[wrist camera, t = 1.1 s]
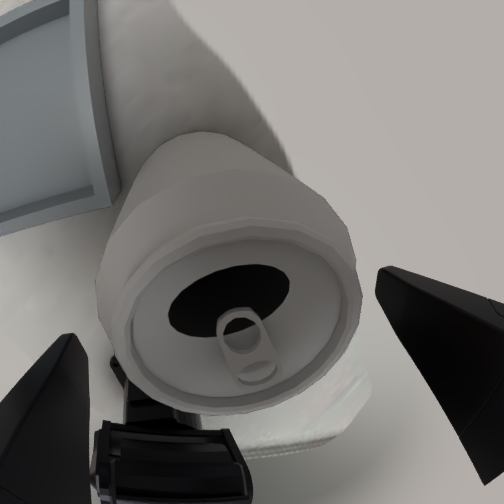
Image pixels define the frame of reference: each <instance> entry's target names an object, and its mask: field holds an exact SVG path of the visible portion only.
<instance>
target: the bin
mask: <svg viewBox="0 0 504 504" xmlns="http://www.w3.org/2000/svg"><path fill="white" fill-rule="evenodd" d="M121 189H122V188H121V184H120V179H119V174H118V170H117V165H116V160H115V155H114V149H113V144H112V138H111V132H110V126H109V120H108V114H107V107H106V100H105V92H104V84H103V76H102V66H101V56H100V44H99V29H98V4H97V0H32V1H30V2H28V3H26V4H24V5H22V6H20V7H18V8H16V9H14V10H12V11H10V12H8V13H6V14H4V15H2V16H0V237H1V236H4V235H7V234H10V233H13V232H17V231H20V230H23V229H27V228H30V227H34V226H37V225H41V224H44V223H48V222H51V221H55V220H59V219H62V218H66V217H70V216H74V215H78V214H82V213H86V212H90V211H94V210H98V209H102V208H106V207H111V206H112V205H113V203H114V202H115V200H116V198H117V196H118V194H119V193H120V191H121Z"/></svg>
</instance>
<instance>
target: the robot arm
mask: <svg viewBox="0 0 504 504" xmlns="http://www.w3.org/2000/svg"><path fill="white" fill-rule="evenodd" d="M375 295H376V298H377V300H378V302H379V304H380V306H381V307H382V309H383V311H384V313H385V315H386V317H387V318H388V320H389V322H390V324H391V326H392V328H393V330H394V332H395V334H396V335H397V337H398V338H399V340H400V342H401V343H402V345H403V346H404V348H405V349H406V351H407V352H408V354H409V355H410V357H411V358H412V360H413V362H414V363H415V365H416V366H417V368H418V369H419V371H420V373H421V374H422V376H423V377H424V379H425V381H426V382H427V384H428V386H429V387H430V389H431V390H432V392H433V394H434V395H435V397H436V399H437V400H438V402H439V404H440V405H441V407H442V409H443V411H444V412H445V414H446V416H447V417H448V419H449V421H450V423H451V424H452V426H453V428H454V430H455V431H456V433H457V435H458V436H459V439H460V441H461V443H462V444H463V446H464V448H465V450H466V452H467V454H468V456H469V458H470V459H471V461H472V463H473V465H474V467H475V469H476V471H477V473H478V475H479V477H480V479H481V481H482V483H483V484H484V486H485V485H487V484H488V483H490V482H491V481H492V480H493V479H495V478H496V477H498V476H499V475H500V474H502V473H503V472H504V304H503V303H500V302H497V301H494V300H492V299H487V298H486V297H483V296H480V295H478V294H475V293H472V292H469V291H466V290H463V289H460V288H457V287H454V286H451V285H448V284H445V283H443V282H439V281H437V280H434V279H431V278H428V277H425V276H422V275H419V274H416V273H412V272H409V271H406V270H403V269H400V268H397V267H394V266H387V267H383V268H380V269H379V271H378V274H377V281H376V287H375ZM117 363H118V364H117ZM110 366H111V368H112V370H113V372H114V373H115V375H116V377H117V378H118V380H119V382H120V383H121V385H122V387H123V388H124V410H123V424H119V423H111V421H106V420H103V424H102V429H99V430H98V431H95V434H94V449H93V456H92V461H91V466H90V469H89V420H90V397H89V371H88V356H87V354H86V352H85V350H84V348H83V346H82V345H81V343H80V341H79V339H78V337H77V336H76V335H75V334H74V333H68V334H62V335H61V336H60V337H59V338H58V339H57V340H56V341H55V342H54V343H53V344H52V345H51V346H50V347H49V348H48V349H47V350H46V351H45V352H44V354H43V355H42V356H41V357H40V358H39V359H38V360H37V361H36V362H35V363H34V364H33V366H32V367H31V368H30V369H29V370H28V371H27V372H26V373H25V374H24V376H23V377H22V378H21V379H20V380H19V381H18V382H17V384H16V385H15V386H14V387H13V388H12V389H11V391H10V392H9V393H8V394H7V395H6V397H5V398H4V399H3V400H2V401H1V402H0V504H92V503H91V491H90V490H91V489H90V484H91V485H92V486H93V487H94V488H95V489H96V490H97V493H98V497H100V500H101V504H251V503H252V499H253V484H252V479H251V474H250V471H249V469H248V466H247V465H246V462H245V460H244V458H243V456H242V454H241V452H240V450H239V448H238V446H237V444H236V442H235V440H234V438H233V436H232V434H231V432H230V430H229V429H221V430H203V429H202V424H201V418H200V414H197V413H190V412H184V411H180V410H178V409H175V408H173V407H171V406H168V405H166V404H163V403H161V402H159V401H156V400H154V399H152V398H151V397H150V396H148V395H147V394H146V393H145V392H143V391H142V390H141V389H140V388H139V387H137V386H136V385H135V384H134V383H133V382H131V381H130V380H129V378H128V377H127V375H126V373H125V372H124V370H123V368H122V367H121V365H120V363H119V361H118V360H117V358H116V357H112V358H111V359H110Z"/></svg>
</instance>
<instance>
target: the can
mask: <svg viewBox="0 0 504 504" xmlns="http://www.w3.org/2000/svg"><path fill="white" fill-rule="evenodd" d="M355 267H356V258H355V254H354V250H353V247H352V243H351V239H350V236H349V232H348V229H347V227H346V225H345V224H344V223H343V221H342V220H341V219H340V218H339V216H338V215H337V214H336V212H335V211H334V210H333V209H332V207H331V206H330V205H329V204H328V202H327V201H326V200H325V199H324V198H323V197H322V196H321V195H319V194H317V193H316V192H315V191H314V190H312V189H311V188H309V187H308V186H306V185H305V184H303V183H302V182H301V181H299V180H298V179H296V178H295V177H293V176H292V175H290V174H289V173H287V172H286V171H284V170H283V169H281V168H280V167H278V166H277V165H275V164H274V163H272V162H271V161H269V160H268V159H266V158H265V157H263V156H261V155H260V154H258V153H257V152H255V151H254V150H252V149H250V148H249V147H247V146H246V145H244V144H242V143H240V142H238V141H236V140H234V139H232V138H230V137H228V136H226V135H224V134H219V133H212V132H205V131H199V132H194V133H188V134H183V135H178V136H177V137H175V138H173V139H171V140H169V141H168V142H166V143H164V144H162V145H160V146H159V147H158V148H157V149H156V150H155V151H154V152H153V153H152V154H151V155H150V156H149V157H148V159H147V160H146V161H145V162H144V163H143V165H142V167H141V169H140V171H139V173H138V175H137V177H136V179H135V181H134V183H133V185H132V187H131V189H130V191H129V194H128V196H127V198H126V200H125V202H124V204H123V207H122V209H121V211H120V213H119V216H118V218H117V220H116V223H115V225H114V228H113V230H112V232H111V235H110V237H109V240H108V242H107V245H106V248H105V251H104V254H103V257H102V260H101V264H100V267H99V270H98V273H97V277H96V280H95V285H96V297H97V308H98V317H99V319H100V321H101V323H102V325H103V327H104V329H105V331H106V333H107V335H108V337H109V339H110V341H111V343H112V345H113V347H114V354H115V356H116V358H117V360H118V361H119V363H120V365H121V367H122V368H123V370H124V372H125V373H126V375H127V377H128V378H129V380H130V381H131V382H133V383H134V384H135V385H136V386H137V387H139V388H140V389H141V390H142V391H143V392H145V393H146V394H147V395H148V396H150V397H151V398H152V399H154V400H156V401H159V402H161V403H163V404H166V405H168V406H171V407H173V408H175V409H178V410H180V411H184V412H190V413H197V414H203V415H210V416H217V415H235V414H245V413H249V412H253V411H257V410H261V409H265V408H268V407H272V406H275V405H277V404H279V403H281V402H283V401H285V400H288V399H290V398H292V397H294V396H296V395H298V394H300V393H302V392H303V391H304V390H306V389H307V388H309V387H310V386H311V385H313V384H314V383H315V382H317V381H318V380H319V379H321V378H322V377H323V376H325V375H326V374H327V373H328V371H329V370H330V369H331V368H332V367H333V366H334V365H335V363H336V362H337V361H338V360H339V359H340V358H341V356H342V355H343V354H344V353H345V351H346V349H347V347H348V345H349V343H350V341H351V339H352V337H353V335H354V333H355V331H356V329H357V327H358V325H359V319H360V312H361V305H362V297H363V295H362V291H361V287H360V283H359V279H358V275H357V272H356V268H355Z"/></svg>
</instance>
